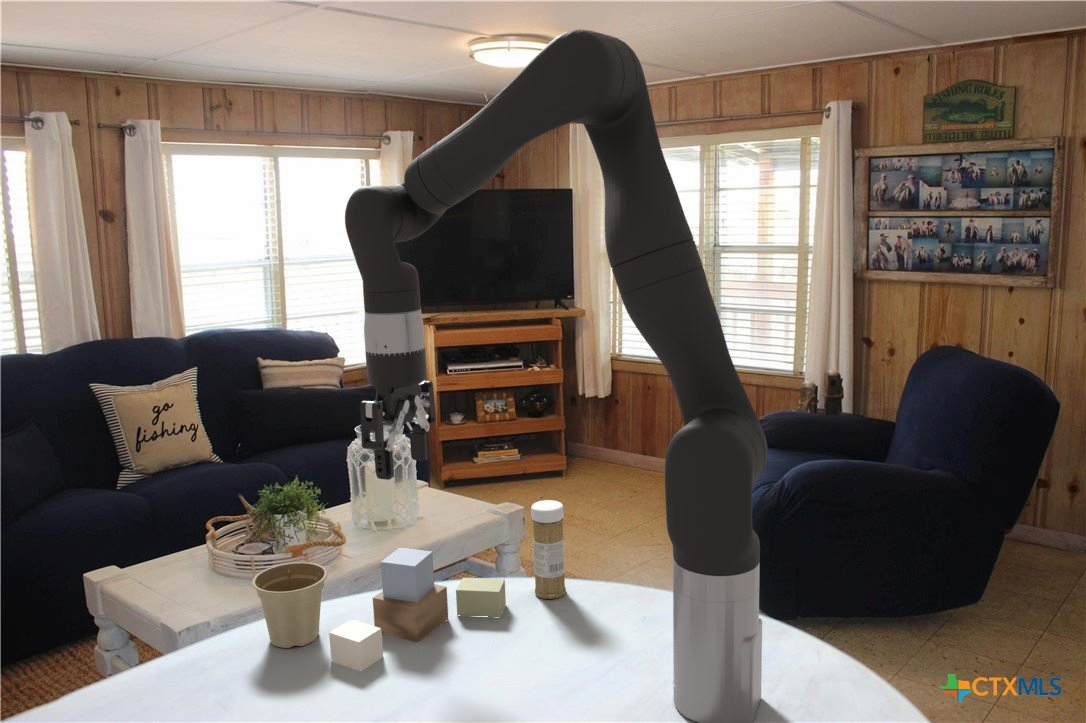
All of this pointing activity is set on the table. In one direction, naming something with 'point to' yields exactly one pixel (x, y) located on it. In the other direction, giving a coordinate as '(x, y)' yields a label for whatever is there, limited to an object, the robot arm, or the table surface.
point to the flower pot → (291, 601)
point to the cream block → (356, 645)
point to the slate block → (407, 574)
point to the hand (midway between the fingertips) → (403, 468)
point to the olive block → (480, 597)
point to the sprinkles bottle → (548, 549)
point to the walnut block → (411, 614)
